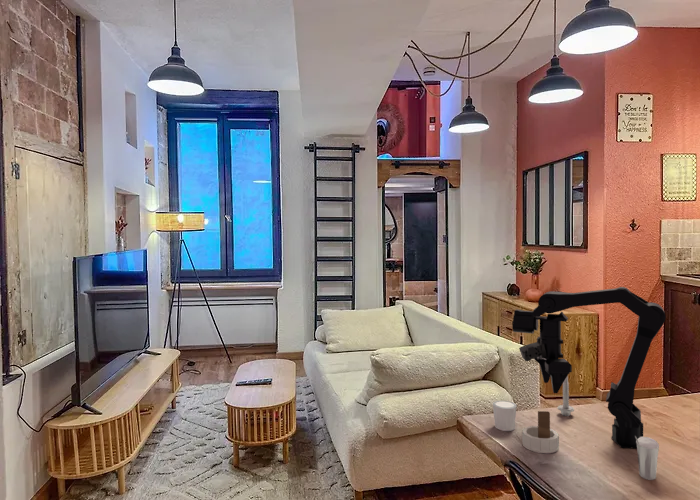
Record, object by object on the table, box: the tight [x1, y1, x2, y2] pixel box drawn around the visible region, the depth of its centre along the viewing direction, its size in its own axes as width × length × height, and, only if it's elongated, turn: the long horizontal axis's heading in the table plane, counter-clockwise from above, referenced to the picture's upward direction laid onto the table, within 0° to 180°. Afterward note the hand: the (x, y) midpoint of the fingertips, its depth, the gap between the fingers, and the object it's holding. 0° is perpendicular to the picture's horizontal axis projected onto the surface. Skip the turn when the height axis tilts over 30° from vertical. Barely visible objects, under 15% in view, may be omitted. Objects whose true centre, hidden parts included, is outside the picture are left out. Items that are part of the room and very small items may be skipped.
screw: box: [557, 375, 575, 417], centre depth 150 cm, size 13×5×5 cm
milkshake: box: [635, 436, 660, 481], centre depth 112 cm, size 4×5×10 cm
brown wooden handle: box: [537, 410, 551, 438], centre depth 129 cm, size 3×3×9 cm
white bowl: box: [521, 425, 560, 454], centre depth 129 cm, size 9×9×4 cm
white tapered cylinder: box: [492, 400, 518, 432], centre depth 142 cm, size 7×7×7 cm
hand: (550, 387), depth 139 cm, fingers open, 9 cm apart
